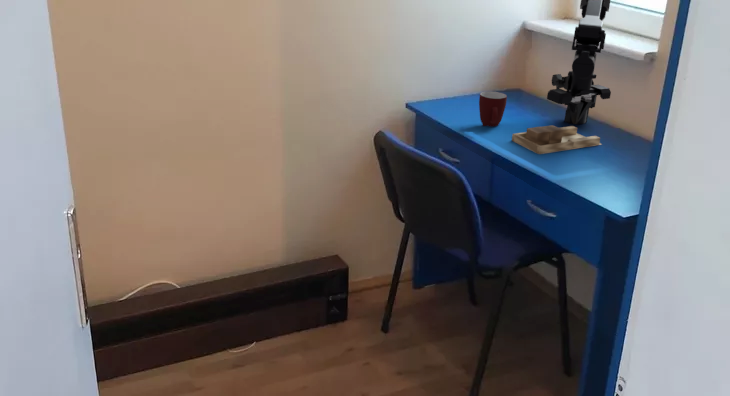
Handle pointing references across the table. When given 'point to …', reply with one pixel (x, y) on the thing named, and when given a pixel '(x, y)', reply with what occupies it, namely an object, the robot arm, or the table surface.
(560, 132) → the brown cube
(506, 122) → the table surface
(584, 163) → the table surface
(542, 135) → the brown wooden cube
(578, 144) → the slot board
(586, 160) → the table surface
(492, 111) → the mug
